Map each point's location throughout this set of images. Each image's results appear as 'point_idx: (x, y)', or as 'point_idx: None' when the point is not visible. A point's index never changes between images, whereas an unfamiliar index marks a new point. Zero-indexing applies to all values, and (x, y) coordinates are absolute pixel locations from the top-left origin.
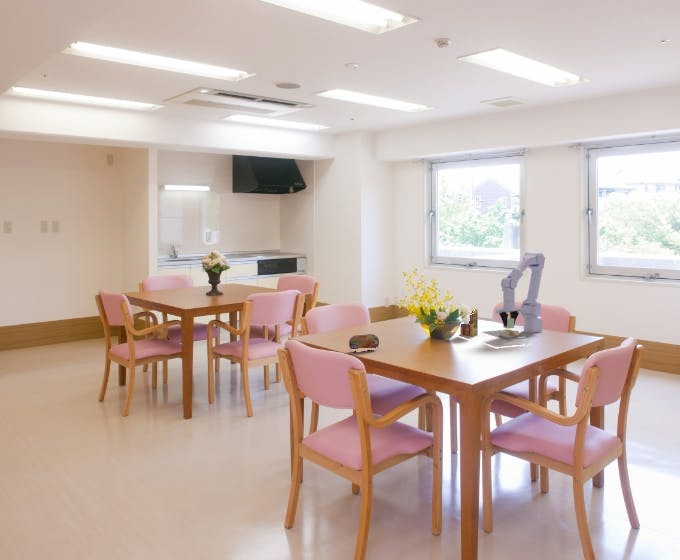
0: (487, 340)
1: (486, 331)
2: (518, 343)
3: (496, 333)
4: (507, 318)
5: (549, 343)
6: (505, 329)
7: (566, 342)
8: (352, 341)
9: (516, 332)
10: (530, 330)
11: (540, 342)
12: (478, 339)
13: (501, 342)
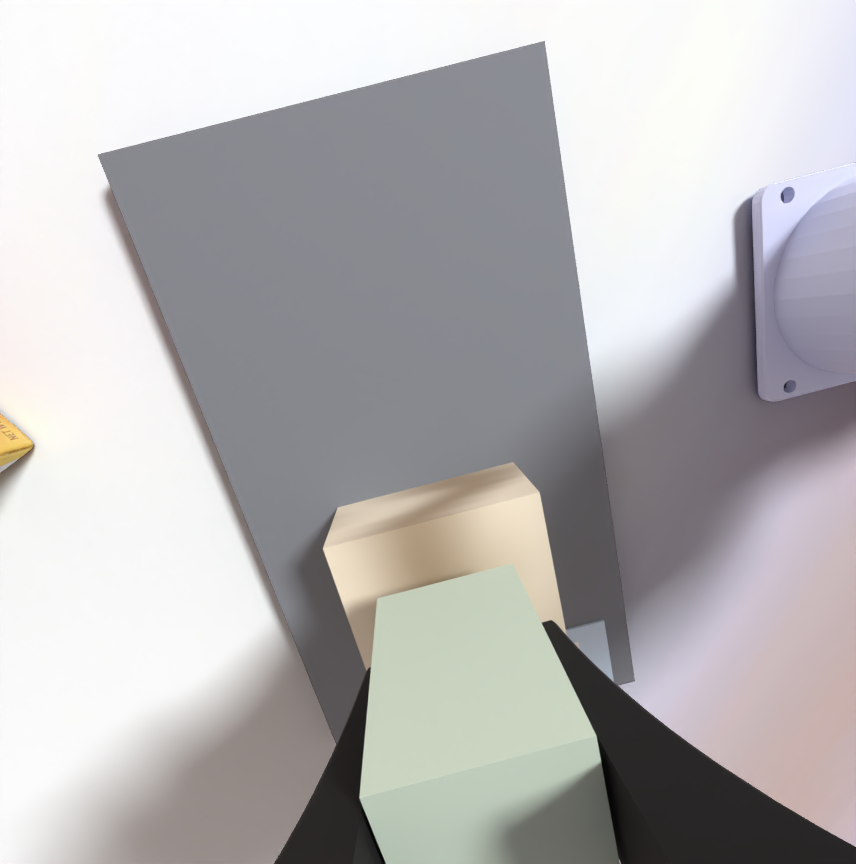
0: (150, 648)
1: (202, 128)
2: None
3: (330, 359)
4: (460, 861)
5: None
6: (428, 532)
7: (846, 799)
8: None
9: None
10: (851, 370)
11: None
12: (40, 582)
13: (286, 752)
